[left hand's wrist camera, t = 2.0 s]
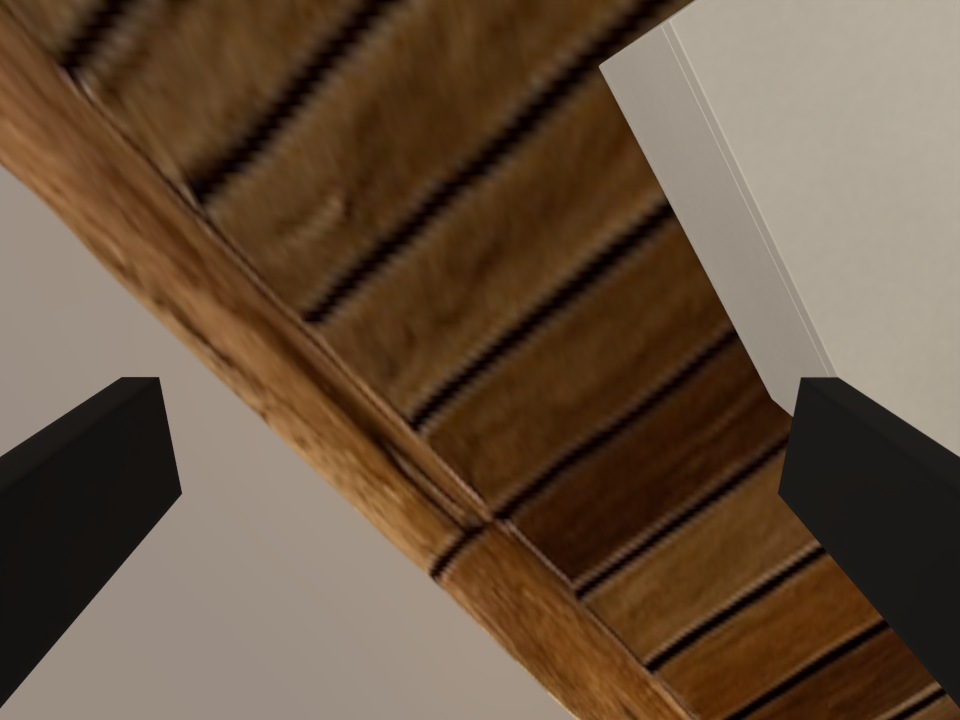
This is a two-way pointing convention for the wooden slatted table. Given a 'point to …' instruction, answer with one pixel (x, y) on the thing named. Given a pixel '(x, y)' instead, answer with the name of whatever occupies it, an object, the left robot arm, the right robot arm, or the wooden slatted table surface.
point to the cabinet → (817, 185)
